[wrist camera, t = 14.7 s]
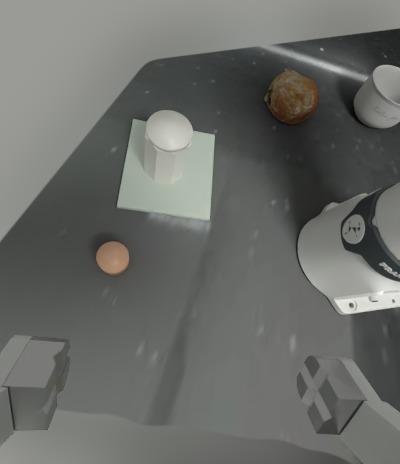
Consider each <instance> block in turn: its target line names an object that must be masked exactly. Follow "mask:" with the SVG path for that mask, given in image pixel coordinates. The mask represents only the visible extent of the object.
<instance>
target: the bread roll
mask: <svg viewBox="0 0 400 464" xmlns="http://www.w3.org/2000/svg"><path fill="white" fill-rule="evenodd" d="M318 98H319V95H318V89H317V86H316V84H315V82H314V81H312V80H311V79H310V78H309V77H304V76H302V75H300V74H298V73H297V72H296V71H294V70H290V71H285V72H283V73H281V74H280V75H278V76H277V77H276V78H275V79H274V80H273V82H272V83H271V85H270V87H269V89H268V91H267V95H266V96H265V98H264V100H265V102H266V103H267V105H268V107H269V109H270V111H271V112H272V114H273V116H274V117H275V118H276V119H277V120H279V121H281V122H284V123H287V124H296V123H299V122H301V121H304V120H306V119H307V118H309V117H310V116H311V115H312V114H313V112H314V111H315V109H316V107H317V104H318Z"/></svg>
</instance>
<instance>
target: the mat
mask: <svg viewBox="0 0 400 464" xmlns="http://www.w3.org/2000/svg"><path fill="white" fill-rule="evenodd" d="M146 124H147V122H146V121H141V120H136V119H133V123H132V128H131V133H130V139H129V144H128V149H127V155H126V160H125V165H124V171H123V176H122V181H121V187H120V192H119V197H118V202H117V208H121V209H128V210H135V211H142V212H149V213H156V214H163V215H170V216H177V217H184V218H191V219H198V220H206V221H209V220H210V208H211V191H212V174H213V157H214V140H215V135H212V134H207V133H202V132H197V131H193V135H192V139H191V147H190V150H189V154H188V157H187V161H186V164H185V168H184V172H183V175H182V177H181V178H179V179H178V180H176V181H175V182H173V183H172V184H163V183H157V182H154V181H153V180H152V179H151V178H150V177H149V175H148V174H147V173H146V172H145V171H144V153H145V133H146Z"/></svg>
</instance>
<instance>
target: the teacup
mask: <svg viewBox="0 0 400 464" xmlns="http://www.w3.org/2000/svg"><path fill="white" fill-rule="evenodd" d="M354 109H355V113H356V116H357V117H358V119H359V120H360V121H361V122H362V123H363V124H365V125H367V126H369V127H373V128H388V127H391V126H393V125H395V124H397V123H398V122H400V68H398V67H395V66H391V65H381V66H378V67H377V68H375V70H374V71H373V73H372V74H371V76H370V77H369V78H368V79H367V80H366V82H365V83H364V84H363V85H362V87H361V88H360V89H359V91H358V92H357V94H356V96H355V98H354Z"/></svg>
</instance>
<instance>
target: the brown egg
mask: <svg viewBox="0 0 400 464" xmlns="http://www.w3.org/2000/svg"><path fill="white" fill-rule="evenodd" d="M96 260H97V263H98V265H99V266H100V268H101V269H102V271H103V272H104V273H106V274H108V275H111V276H117V275H120V274H122V273H124V272H125V271H126V270H127V268H128V266H129V262H130V260H129V253H128V250H127V248H126V247H125V246H124V245H123V244H121V243H119V242H115V241H111V242H107V243H105V244H103V245H102V246H101V247H100V248H99V249H98V251H97V254H96Z"/></svg>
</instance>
